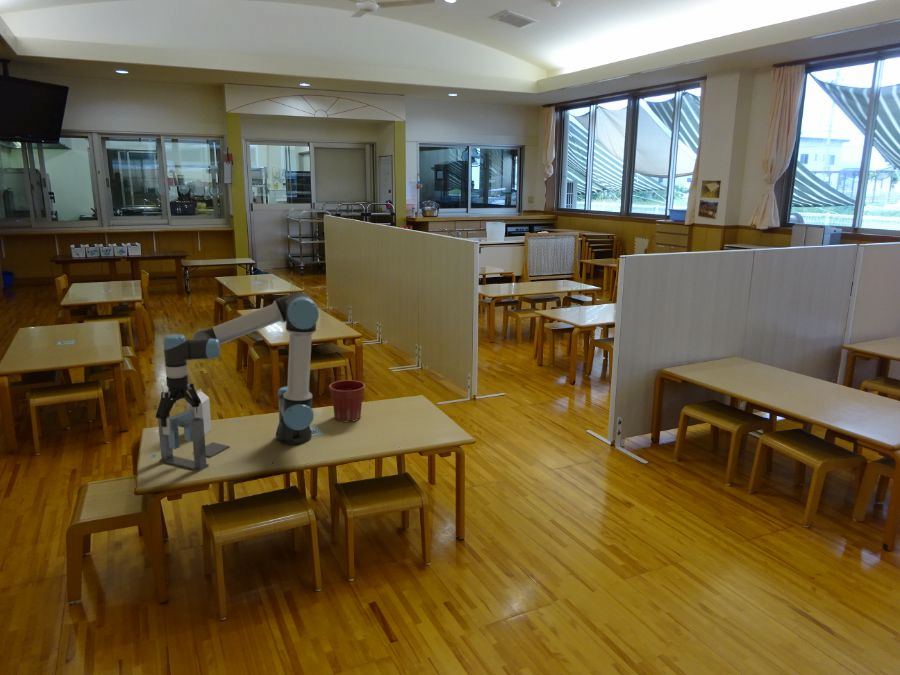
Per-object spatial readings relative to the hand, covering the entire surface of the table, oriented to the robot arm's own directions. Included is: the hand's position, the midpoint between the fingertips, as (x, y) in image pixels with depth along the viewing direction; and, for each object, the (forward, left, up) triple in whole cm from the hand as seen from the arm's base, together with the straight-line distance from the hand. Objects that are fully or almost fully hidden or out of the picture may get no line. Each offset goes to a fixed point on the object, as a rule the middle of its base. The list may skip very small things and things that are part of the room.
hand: (180, 428), depth 247 cm
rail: (0, 0, -15) cm, 15 cm away
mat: (-1, -15, -15) cm, 21 cm away
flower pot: (-31, -71, -15) cm, 79 cm away
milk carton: (+17, -27, -15) cm, 36 cm away
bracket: (0, 0, -6) cm, 6 cm away
